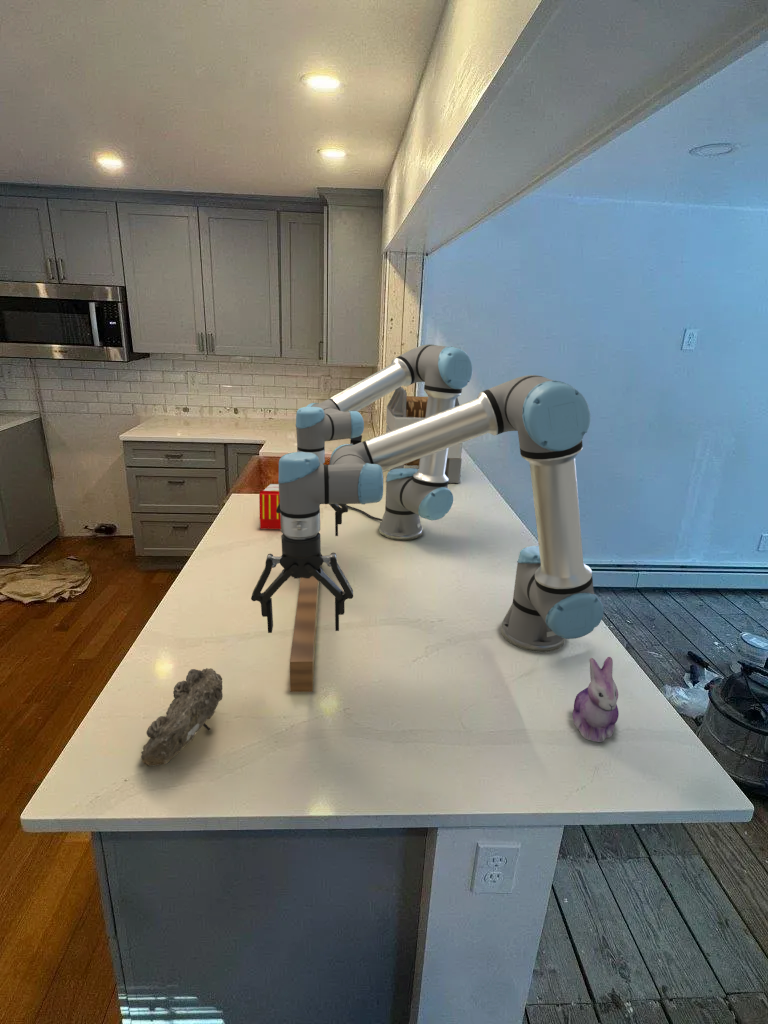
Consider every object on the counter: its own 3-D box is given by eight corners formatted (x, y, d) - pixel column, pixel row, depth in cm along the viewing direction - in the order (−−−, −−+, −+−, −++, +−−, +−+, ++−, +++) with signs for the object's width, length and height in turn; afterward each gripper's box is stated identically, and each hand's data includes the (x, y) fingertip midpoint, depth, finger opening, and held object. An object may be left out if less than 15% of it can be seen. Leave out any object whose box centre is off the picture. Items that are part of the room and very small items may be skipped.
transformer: (382, 463, 289) (386, 382, 275) (445, 464, 293) (451, 384, 279) (390, 482, 257) (394, 392, 243) (460, 483, 261) (468, 394, 247)
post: (305, 565, 173) (305, 543, 170) (320, 565, 173) (320, 543, 171) (290, 691, 116) (289, 661, 114) (312, 691, 116) (312, 661, 114)
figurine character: (361, 456, 307) (362, 446, 320) (362, 442, 303) (362, 433, 317) (349, 455, 306) (350, 446, 320) (349, 442, 303) (350, 433, 316)
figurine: (597, 751, 104) (612, 683, 98) (557, 717, 112) (569, 652, 107) (633, 736, 108) (649, 669, 103) (592, 704, 116) (605, 641, 111)
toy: (299, 479, 223) (289, 492, 194) (299, 512, 226) (289, 530, 197) (268, 478, 223) (253, 491, 193) (268, 512, 225) (254, 529, 196)
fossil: (171, 669, 114) (224, 637, 109) (205, 700, 117) (257, 670, 112) (115, 759, 95) (175, 724, 90) (157, 793, 97) (218, 762, 92)
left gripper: (264, 467, 152) (268, 540, 160) (356, 467, 154) (356, 539, 162) (267, 460, 159) (271, 530, 167) (355, 460, 161) (355, 529, 169)
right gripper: (231, 541, 105) (239, 640, 112) (366, 539, 107) (365, 636, 114) (238, 526, 112) (245, 620, 119) (364, 525, 114) (363, 617, 121)
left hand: (313, 534), depth 164 cm, fingers open, 13 cm apart
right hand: (304, 628), depth 117 cm, fingers open, 13 cm apart
